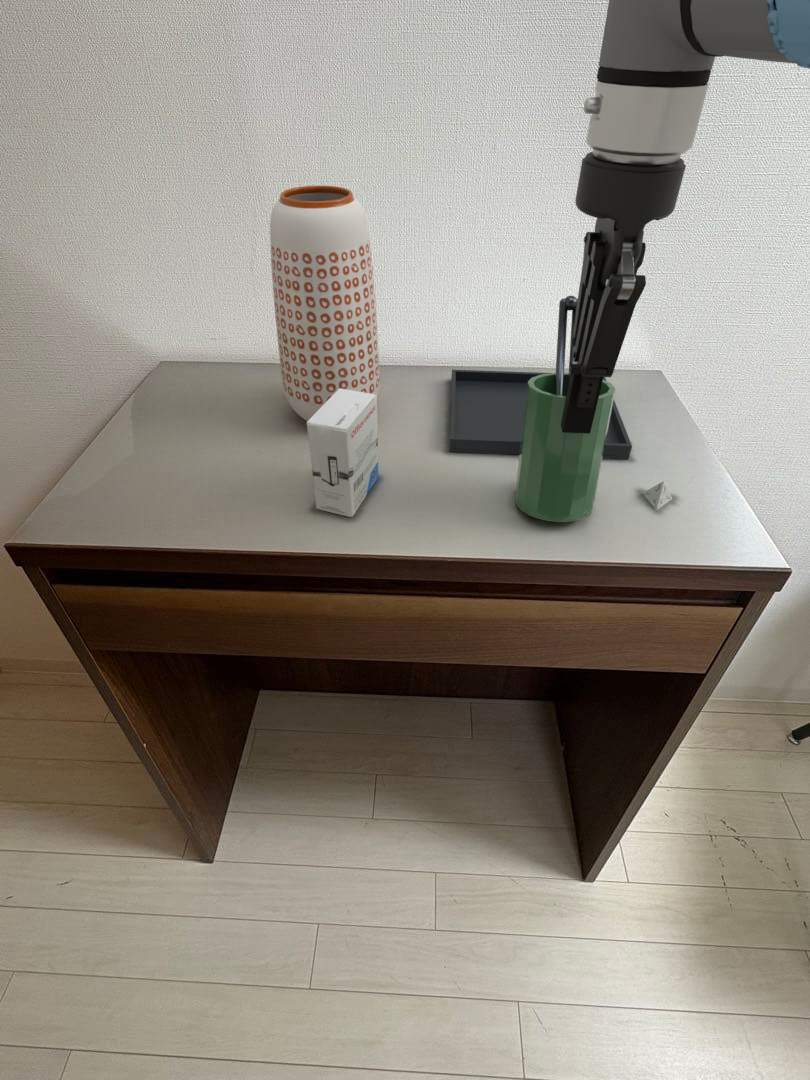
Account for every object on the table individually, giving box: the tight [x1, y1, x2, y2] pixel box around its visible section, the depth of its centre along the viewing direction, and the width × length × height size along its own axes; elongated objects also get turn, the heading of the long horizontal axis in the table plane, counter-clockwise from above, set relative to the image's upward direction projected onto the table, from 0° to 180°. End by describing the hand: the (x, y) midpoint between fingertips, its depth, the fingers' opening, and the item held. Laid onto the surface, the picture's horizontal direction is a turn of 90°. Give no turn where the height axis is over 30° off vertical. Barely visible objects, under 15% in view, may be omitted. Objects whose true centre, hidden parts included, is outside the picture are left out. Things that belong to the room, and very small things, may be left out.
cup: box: [514, 372, 617, 523], centre depth 68 cm, size 9×9×14 cm
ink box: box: [306, 388, 379, 518], centre depth 70 cm, size 9×5×12 cm, turn 160°
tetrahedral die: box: [642, 481, 673, 511], centre depth 72 cm, size 4×3×3 cm
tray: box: [449, 369, 633, 460], centre depth 88 cm, size 23×20×2 cm
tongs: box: [554, 295, 578, 396], centre depth 67 cm, size 2×11×21 cm, turn 175°
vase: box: [269, 185, 381, 422], centre depth 79 cm, size 13×13×28 cm
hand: (575, 429), depth 61 cm, fingers closed
